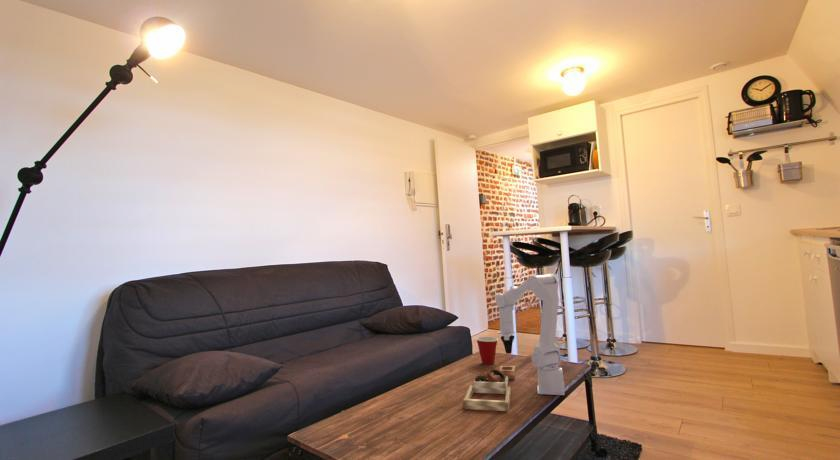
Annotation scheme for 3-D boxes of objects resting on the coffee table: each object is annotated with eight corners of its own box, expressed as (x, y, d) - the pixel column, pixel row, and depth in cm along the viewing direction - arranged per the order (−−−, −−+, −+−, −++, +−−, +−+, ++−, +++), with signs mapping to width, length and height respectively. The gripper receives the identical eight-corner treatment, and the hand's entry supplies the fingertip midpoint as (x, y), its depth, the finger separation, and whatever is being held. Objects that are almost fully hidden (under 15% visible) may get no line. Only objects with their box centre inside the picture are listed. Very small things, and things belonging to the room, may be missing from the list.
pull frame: (515, 374, 168) (514, 364, 168) (513, 394, 146) (512, 383, 146) (481, 373, 172) (480, 364, 172) (473, 392, 150) (473, 382, 150)
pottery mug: (492, 383, 160) (500, 367, 158) (503, 401, 152) (512, 384, 150) (467, 382, 155) (475, 365, 153) (477, 399, 147) (486, 382, 145)
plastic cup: (504, 363, 185) (503, 337, 186) (487, 367, 180) (485, 341, 180) (489, 358, 195) (488, 334, 195) (472, 362, 189) (471, 337, 190)
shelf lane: (510, 393, 147) (510, 385, 148) (508, 411, 132) (508, 402, 132) (470, 391, 152) (469, 383, 152) (463, 408, 136) (463, 400, 136)
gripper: (498, 318, 177) (500, 348, 177) (495, 324, 163) (498, 357, 163) (514, 318, 175) (516, 348, 175) (513, 324, 161) (515, 358, 161)
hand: (508, 353), depth 168 cm, fingers closed
